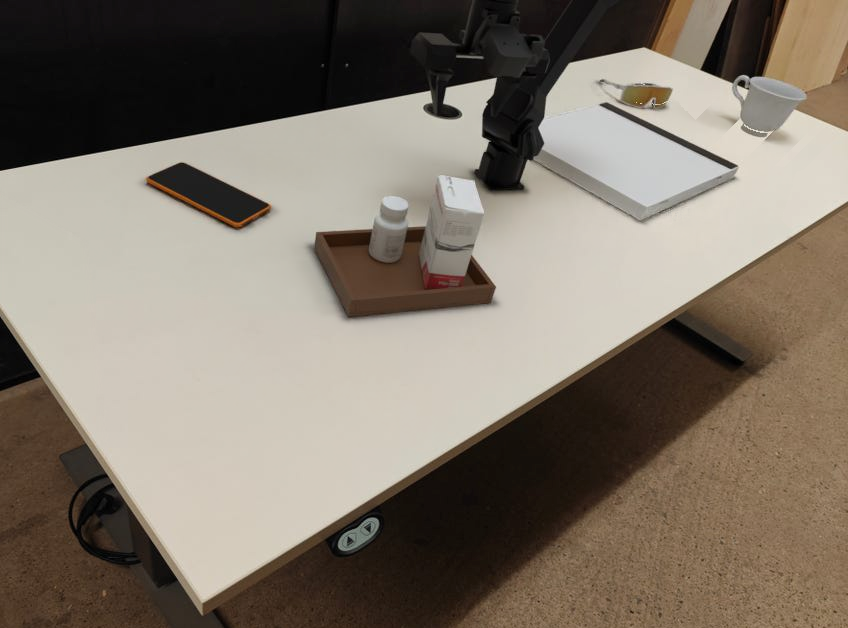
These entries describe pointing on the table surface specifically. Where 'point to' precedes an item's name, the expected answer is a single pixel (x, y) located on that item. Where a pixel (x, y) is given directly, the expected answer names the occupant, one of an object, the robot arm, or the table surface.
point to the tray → (391, 276)
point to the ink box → (450, 232)
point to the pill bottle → (389, 230)
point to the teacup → (766, 103)
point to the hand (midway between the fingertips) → (465, 115)
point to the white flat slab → (628, 159)
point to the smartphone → (209, 194)
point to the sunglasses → (642, 94)
